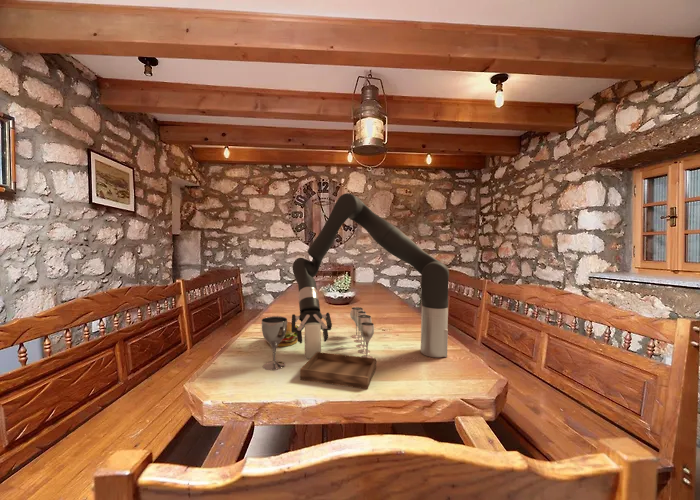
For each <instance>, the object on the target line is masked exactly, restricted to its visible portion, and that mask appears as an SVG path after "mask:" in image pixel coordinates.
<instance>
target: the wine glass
mask: <svg viewBox="0 0 700 500" xmlns="http://www.w3.org/2000/svg"><path fill="white" fill-rule="evenodd" d="M287 321H288V318H287V317H286V316H279V315H277V316H275V315H273V316H267V317H264V318H262V319H261V332H262V336H263V339H264V340H265V341H266V342H267V343H269V344H270V345H269V344H268V345H269V346H270V347H271V350H272V361H268V362H267V361H266V362H265V363H263V365H262V369H264V370H266V371H278V370H281V369H283V368H285V367H286V363H285V362H284V361H281V360H277V359H276V353H277V348H278V347H277V346H278V344H279V343H280V342H281V341H282V339H283V338H284V337H285V334H286V329H287Z"/></svg>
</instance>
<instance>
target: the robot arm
mask: <svg viewBox="0 0 700 500" xmlns="http://www.w3.org/2000/svg"><path fill="white" fill-rule="evenodd" d="M348 219H349V220H350V221H351V220H352V221H353V222H354V223H356V224H358V225H359V226H361V227H362V228H363V229H364V230H365V231H366V232H367V233H368V234H369V236H370V237H371V238H372V239H373V240H374V241H375V242H376V243H377V245H379V246H380V247H381V248H383V249H384V250H385V252H388V253H389V254H390V255H392V256H394V257H395V258H397V259H398V260H401V261H402V262H404V263H407V264H408V265H409V266H411V267H412V268H413V269H415V270H416V271H417V273H419V274H420V276H421V277H420V278H421V279H420V280H421V281H420V283H421V285H420V286H421V287H420V298H421V318H420V319H421V321H420V353H421V354H423V355H424V356H427V357H429V358H430V357H431V358H443V357H444V358H447V357H448V346H449V345H448V343H449V342H448V340H449V337H448V336H449V330H448V325H449V324H448V323H449V319H448V318H449V281H450V280H449V279H450V271H449V270H450V269H449V268H448V266H447V265H446V264H445V263H443V262H442V261H440V260H438V259H436V258H435V257H434V256H432V255H430V254H429V253H427V252H426V251H424V250H423V249H422V248H421V247H419V245H417V244H416V243H415V242H414V241H413V239H411V238H410V237H409V236H408V235H406V234H405V233H404V232H403V231H401V229H399V228H398V227H396V226H395V225H394V224H392V223H391V222H390V221H387V220H386V219H385V218H383V217H381V216H379V215H378V214H376V213H375V212H374V211H373V210H372V209H371V208H369V207H368V206H367V205H366V204H365V203H364V202H363V201H362V200H361V199H360V198H359V197H358V196H356V195H354V194H353V193H349V192H347V193H343V194H340V196H339V197H338V198H337V200H336V202H335V204H334V206H333V208H332V210H331V212H330V214H329V216H328V218H327V220H326V222H325V224H324V225H323V227H322V229H321V230H320V232H319V233H318V234H317V236H316V237H315V239H314V240H313V242H312V243H311V245H310V246H309V248H308V250H307V254H308V255H309V257H311V258H312V260H311V261H310V260H308V259H307V258H304V257H297V258H296V259H294V261H293V264H292V273H293V275H294V279H295V280H296V283H297V286H298V287H297V288H298V305H299V306H298V307H299V315H296V314H294V313H293V314H292V315H291V322H292V333H294V332H295V333H297V340H298V341H297V343H299V344H302V343H303V335H302V333H303V330H305V324H307V323H320V324H321V332H322V337H323V342H324V343H325V342H327V340H329V332H328V331H331V330H332V327H333V323H332V319H331V315H330V313H329V312H326V313H324V314H322V311H321V307H320V306H321V305H320V298H319V292H318V290H317V282H316V280H315V277H316V276H317V275H318V273H319V270H320V267H321V264H322V262H323V259H324V258H325V256H326V255H327V253H328V252H329V251H330V249H331V247H332V246H333V243H334V242H335V240H336V237H337V235H338V232H339V230H340V228H342V226H343V224H344V223H346V221H347V220H348ZM322 319H323V320H322ZM298 321H300V322H301V323H300V324H299V326H298V328H296V327H295V325H296V323H297V322H298ZM324 321H326V324H325V323H324Z"/></svg>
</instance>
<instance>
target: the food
mask: <svg viewBox="0 0 700 500" xmlns="http://www.w3.org/2000/svg"><path fill="white" fill-rule="evenodd" d="M295 327H296V328H298V327H299V326H298V325H296V324H295ZM267 343H268V342H267ZM297 343H298V340H297V333H295V332H294V333H292V321H288V320H287V329H286V334H285V337H284V338H283V339H282V341H281V342H280V343H279V344H278V346H277V348H278V347H280V348H281V347H289V346H293V345H295V344H297ZM268 345H269V346H271V345H270V344H269V343H268Z"/></svg>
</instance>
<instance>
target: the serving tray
mask: <svg viewBox="0 0 700 500" xmlns="http://www.w3.org/2000/svg"><path fill="white" fill-rule="evenodd" d="M376 369H377V358H374V357H373V358H367V357H361V356H357V355H347V354H338V353H330V352H322V351H321V352H316V353H315V354H314V355H313V356H312V357H311V359H308V360H307V362H306V363H304V365H303V366H301V368H300V369H299V380H300V381H305V382H314V383H320V384H327V385H335V386H343V387H349V388H358V389H363V390H369V387H370V384H371V381H372V379H373V376H374V374H375V372H376Z"/></svg>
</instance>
